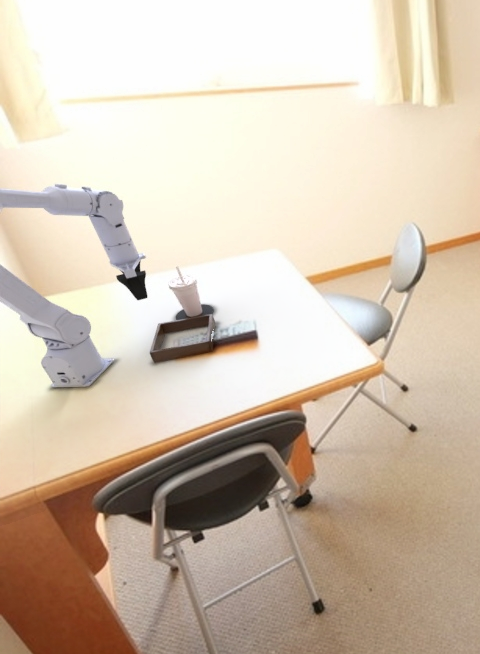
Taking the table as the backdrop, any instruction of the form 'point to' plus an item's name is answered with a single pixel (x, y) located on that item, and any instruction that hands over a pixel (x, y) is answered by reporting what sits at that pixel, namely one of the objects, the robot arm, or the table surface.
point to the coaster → (205, 311)
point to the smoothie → (186, 293)
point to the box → (182, 350)
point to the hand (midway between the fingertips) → (140, 292)
